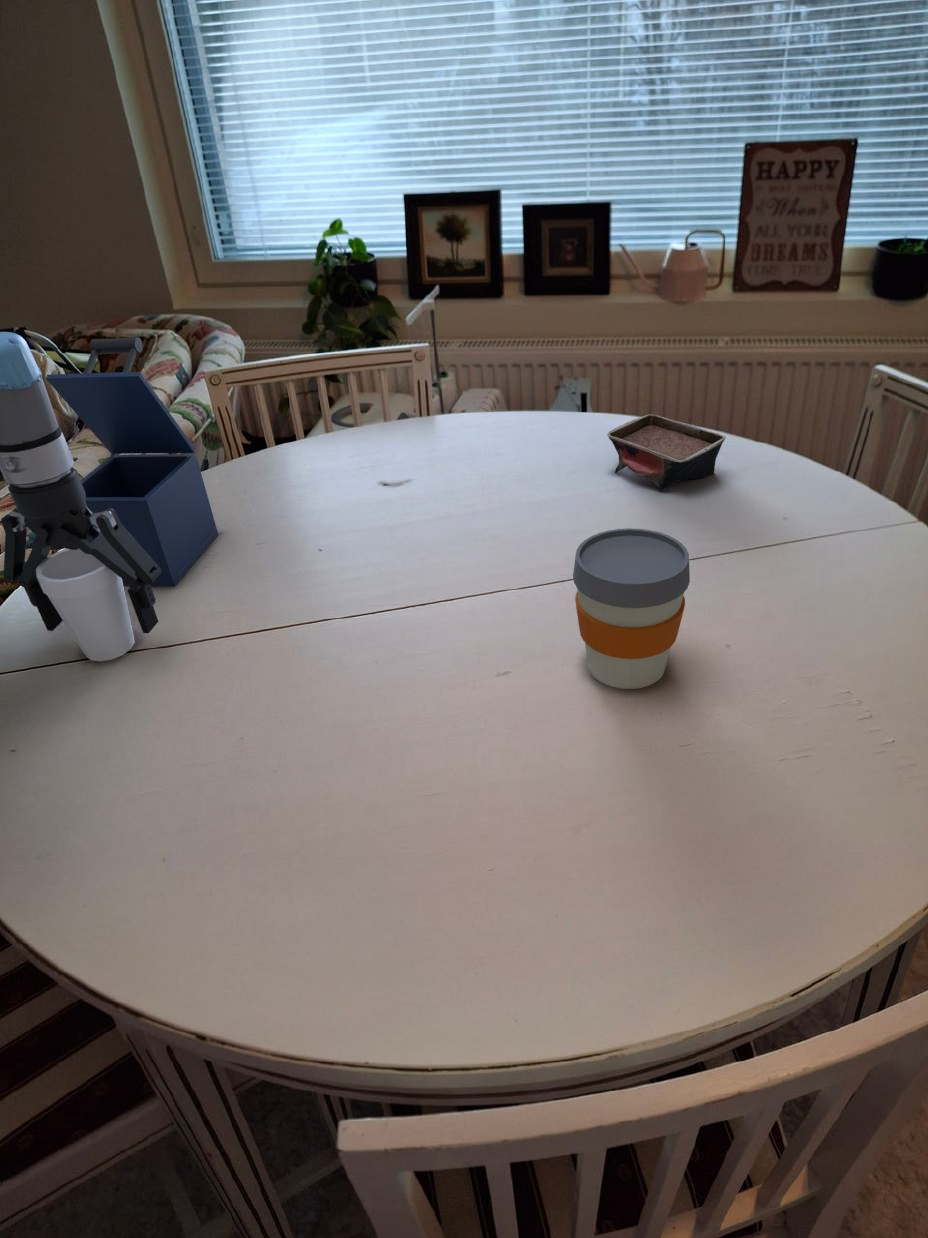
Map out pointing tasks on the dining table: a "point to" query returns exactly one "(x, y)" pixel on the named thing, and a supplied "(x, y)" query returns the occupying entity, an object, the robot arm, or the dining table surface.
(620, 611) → the reusable coffee cup
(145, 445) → the lid
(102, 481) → the box
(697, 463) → the bonsai pot
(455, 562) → the dining table surface
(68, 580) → the foam cup
